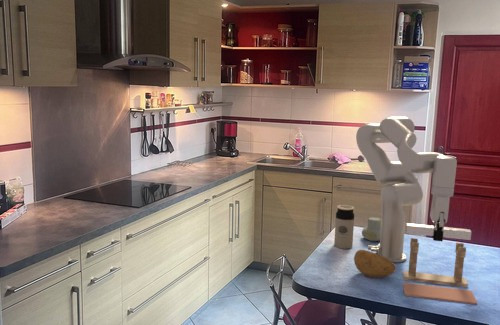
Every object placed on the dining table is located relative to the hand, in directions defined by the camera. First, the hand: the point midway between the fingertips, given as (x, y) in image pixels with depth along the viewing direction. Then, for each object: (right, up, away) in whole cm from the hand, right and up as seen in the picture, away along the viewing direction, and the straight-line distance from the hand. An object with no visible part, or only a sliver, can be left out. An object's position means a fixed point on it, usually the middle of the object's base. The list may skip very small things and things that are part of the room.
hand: (437, 238), depth 176 cm
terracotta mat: (-3, -18, -9) cm, 20 cm away
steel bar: (0, +1, 0) cm, 1 cm away
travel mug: (-27, -10, +37) cm, 47 cm away
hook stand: (0, -16, +2) cm, 16 cm away
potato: (-22, -15, +5) cm, 27 cm away
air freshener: (-11, -8, +48) cm, 50 cm away
